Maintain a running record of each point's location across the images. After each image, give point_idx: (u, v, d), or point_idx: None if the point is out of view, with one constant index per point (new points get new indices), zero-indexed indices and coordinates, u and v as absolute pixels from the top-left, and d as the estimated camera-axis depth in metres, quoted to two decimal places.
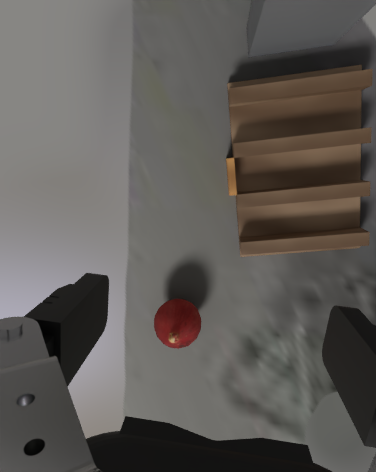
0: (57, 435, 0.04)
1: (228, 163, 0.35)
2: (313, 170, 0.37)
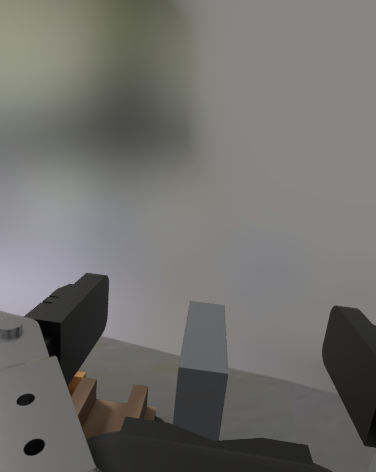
0: (57, 435, 0.04)
1: (80, 372, 0.35)
2: None
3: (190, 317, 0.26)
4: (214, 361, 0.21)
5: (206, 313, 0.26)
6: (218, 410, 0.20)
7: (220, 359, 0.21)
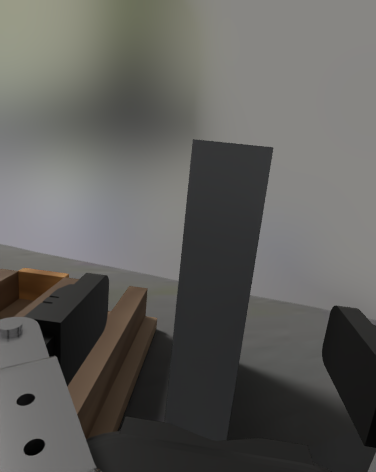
0: (57, 435, 0.04)
1: (61, 273, 0.28)
2: None
3: None
4: None
5: None
6: (254, 218, 0.13)
7: None
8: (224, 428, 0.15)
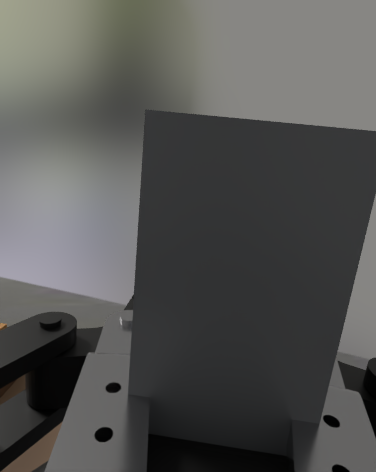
0: (125, 431, 0.04)
1: None
2: None
3: None
4: None
5: None
6: (321, 330, 0.05)
7: None
8: None
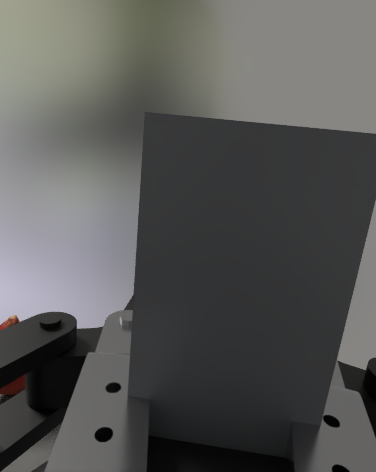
0: (125, 431, 0.04)
1: None
2: None
3: None
4: None
5: None
6: (321, 333, 0.05)
7: None
8: None
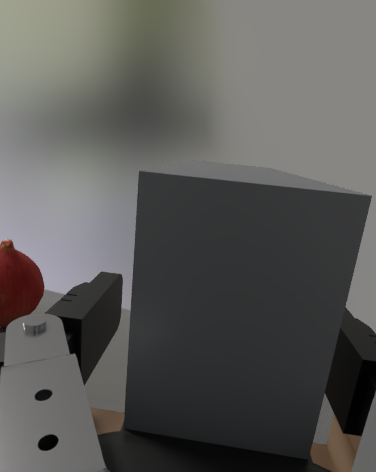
0: (70, 432, 0.04)
1: None
2: None
3: (194, 162, 0.10)
4: (290, 182, 0.05)
5: (233, 165, 0.11)
6: (307, 376, 0.05)
7: (310, 183, 0.05)
8: None
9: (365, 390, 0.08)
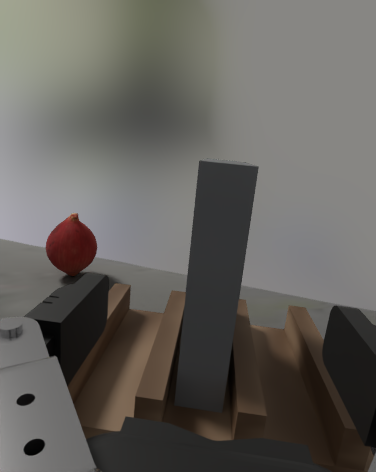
0: (57, 435, 0.04)
1: None
2: None
3: (208, 159, 0.23)
4: (241, 164, 0.17)
5: None
6: (245, 218, 0.17)
7: None
8: (223, 381, 0.20)
9: None
